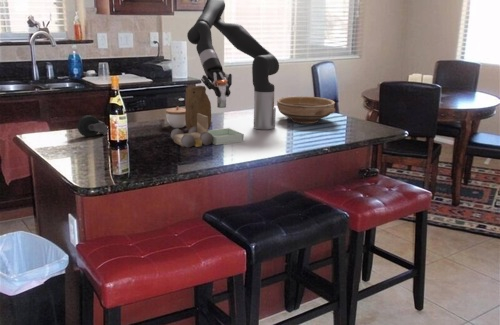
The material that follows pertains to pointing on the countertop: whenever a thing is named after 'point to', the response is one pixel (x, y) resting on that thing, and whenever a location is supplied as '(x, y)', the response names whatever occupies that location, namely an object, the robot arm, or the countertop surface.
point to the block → (196, 105)
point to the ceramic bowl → (305, 108)
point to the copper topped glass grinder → (222, 87)
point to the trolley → (194, 134)
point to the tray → (226, 136)
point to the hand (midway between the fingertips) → (223, 95)
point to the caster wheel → (91, 126)
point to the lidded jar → (176, 117)
